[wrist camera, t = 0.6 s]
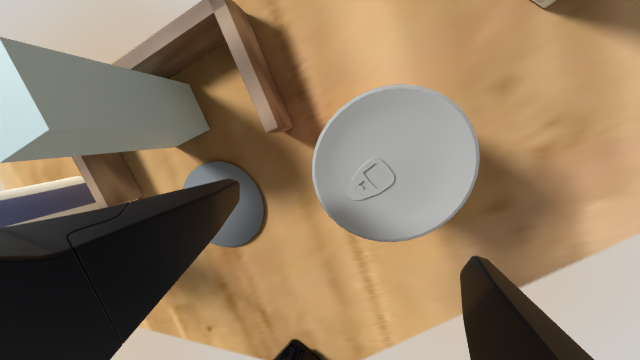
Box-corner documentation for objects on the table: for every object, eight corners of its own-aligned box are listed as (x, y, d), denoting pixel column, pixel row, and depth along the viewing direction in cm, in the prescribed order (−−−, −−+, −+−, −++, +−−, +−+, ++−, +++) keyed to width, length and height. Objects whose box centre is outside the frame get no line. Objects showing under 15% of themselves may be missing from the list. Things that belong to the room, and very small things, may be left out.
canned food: (323, 161, 23) (283, 189, 12) (371, 88, 21) (372, 45, 10) (388, 206, 23) (404, 273, 12) (444, 136, 20) (524, 143, 10)
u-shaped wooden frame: (293, 127, 23) (278, 127, 19) (136, 199, 29) (100, 210, 25) (246, 13, 22) (219, -12, 18) (91, 113, 28) (46, 111, 24)
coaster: (237, 261, 28) (235, 263, 27) (172, 210, 28) (169, 211, 28) (280, 198, 25) (279, 199, 24) (207, 142, 25) (204, 142, 25)
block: (209, 129, 25) (49, 129, 12) (175, 147, 26) (-1, 163, 14) (189, 84, 24) (-2, 36, 12) (154, 104, 26) (-49, 80, 13)
